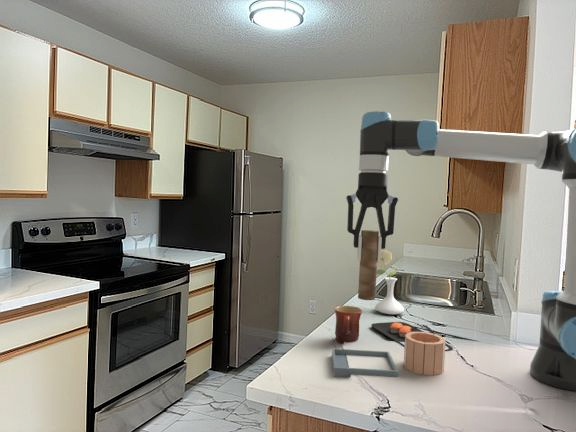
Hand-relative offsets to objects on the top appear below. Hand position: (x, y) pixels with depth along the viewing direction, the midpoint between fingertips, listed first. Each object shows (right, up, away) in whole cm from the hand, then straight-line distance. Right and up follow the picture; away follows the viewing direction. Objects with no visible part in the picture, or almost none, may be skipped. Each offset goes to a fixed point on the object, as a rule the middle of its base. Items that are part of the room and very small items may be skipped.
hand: (368, 260), depth 117 cm
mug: (-3, -28, +21) cm, 35 cm away
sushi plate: (+25, -29, +29) cm, 48 cm away
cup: (+15, -29, +1) cm, 33 cm away
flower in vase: (+18, -27, +58) cm, 67 cm away
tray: (-1, -29, +1) cm, 29 cm away
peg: (0, -10, +1) cm, 10 cm away
